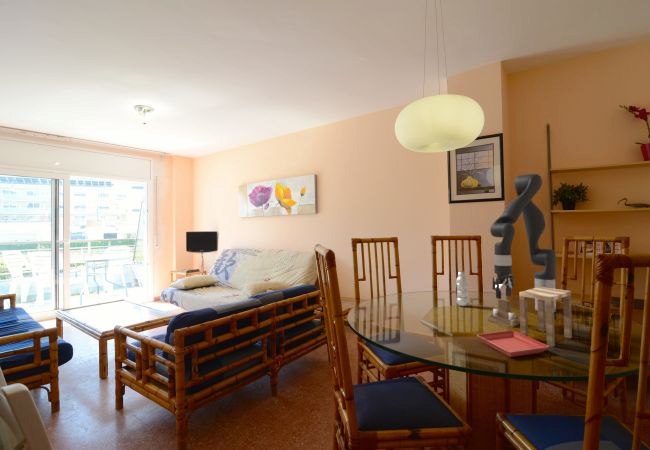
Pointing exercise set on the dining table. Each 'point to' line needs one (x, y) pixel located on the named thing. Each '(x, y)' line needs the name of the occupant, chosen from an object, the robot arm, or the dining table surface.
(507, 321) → the caddy
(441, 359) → the dining table surface
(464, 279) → the plastic bottle
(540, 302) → the stool
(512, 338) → the plant saucer
